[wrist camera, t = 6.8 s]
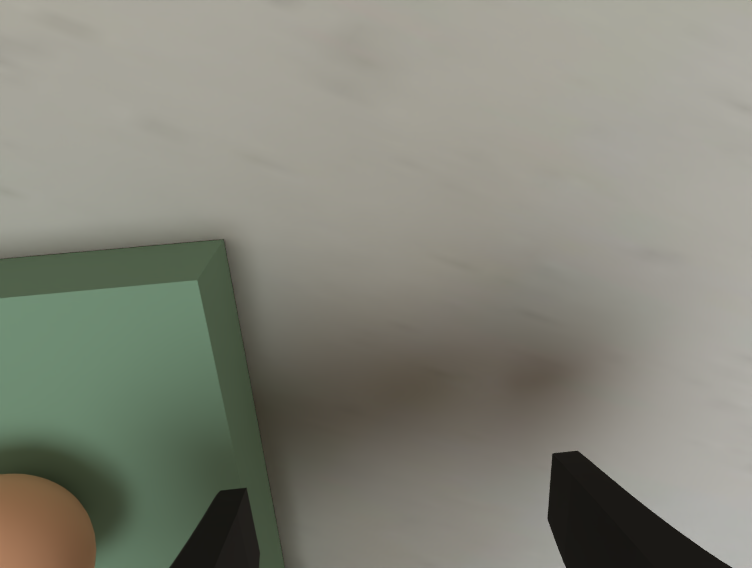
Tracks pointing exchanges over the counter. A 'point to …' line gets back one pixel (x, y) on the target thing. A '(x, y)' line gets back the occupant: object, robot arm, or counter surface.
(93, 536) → the terracotta ball
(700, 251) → the counter surface
